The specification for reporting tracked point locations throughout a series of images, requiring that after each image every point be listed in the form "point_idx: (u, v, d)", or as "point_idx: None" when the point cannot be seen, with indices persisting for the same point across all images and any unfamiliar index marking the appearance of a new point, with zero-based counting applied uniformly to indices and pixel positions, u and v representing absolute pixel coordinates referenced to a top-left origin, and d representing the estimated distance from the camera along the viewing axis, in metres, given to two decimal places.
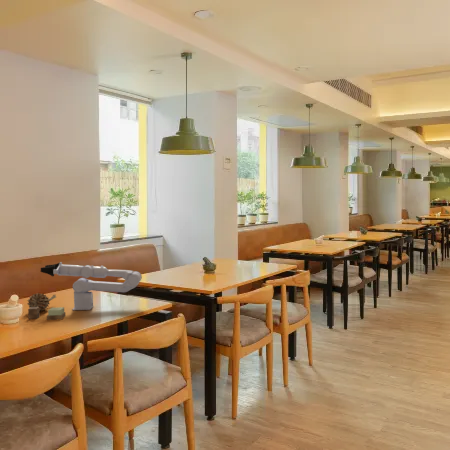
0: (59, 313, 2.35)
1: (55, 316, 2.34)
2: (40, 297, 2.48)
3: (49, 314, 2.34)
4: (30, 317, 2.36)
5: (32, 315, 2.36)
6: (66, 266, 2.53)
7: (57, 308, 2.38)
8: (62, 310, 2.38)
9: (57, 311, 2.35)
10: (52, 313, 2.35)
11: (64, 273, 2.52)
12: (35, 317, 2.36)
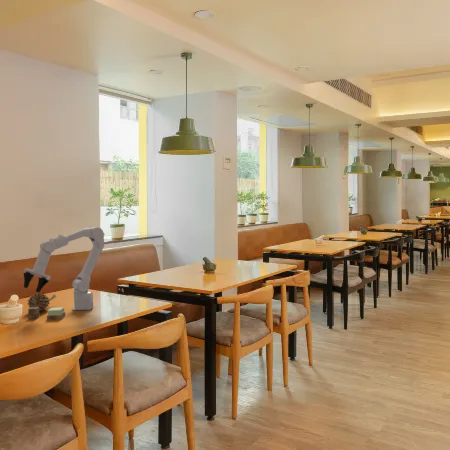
0: (59, 313, 2.34)
1: (55, 316, 2.34)
2: (40, 297, 2.48)
3: (49, 314, 2.34)
4: (30, 317, 2.36)
5: (32, 315, 2.36)
6: (40, 266, 2.40)
7: (57, 308, 2.38)
8: (62, 310, 2.37)
9: (57, 311, 2.34)
10: (52, 313, 2.34)
11: None
12: (35, 317, 2.36)
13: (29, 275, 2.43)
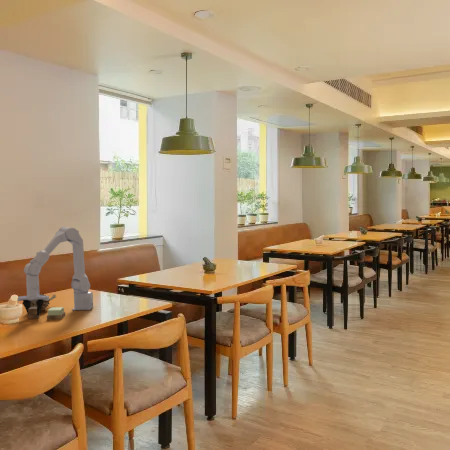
0: (59, 313, 2.35)
1: (55, 316, 2.35)
2: None
3: (49, 314, 2.34)
4: (30, 317, 2.36)
5: (32, 314, 2.36)
6: (35, 291, 2.35)
7: (57, 308, 2.38)
8: (62, 310, 2.38)
9: (57, 311, 2.35)
10: (52, 313, 2.35)
11: None
12: (35, 317, 2.36)
13: (28, 302, 2.37)
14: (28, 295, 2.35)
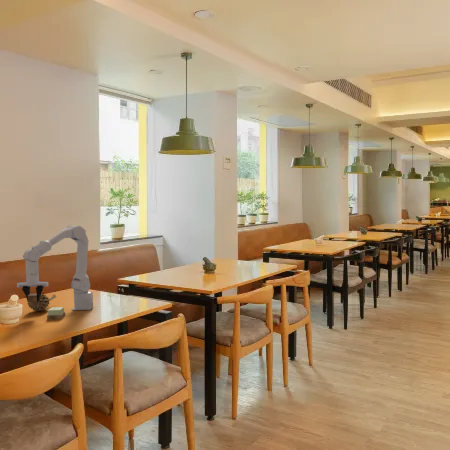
0: (59, 313, 2.35)
1: (55, 316, 2.35)
2: (40, 297, 2.48)
3: (49, 314, 2.34)
4: (30, 304, 2.36)
5: (32, 301, 2.36)
6: (34, 277, 2.35)
7: (57, 308, 2.38)
8: (62, 310, 2.38)
9: (57, 311, 2.35)
10: (52, 313, 2.35)
11: None
12: (35, 304, 2.36)
13: (28, 288, 2.37)
14: (27, 281, 2.35)
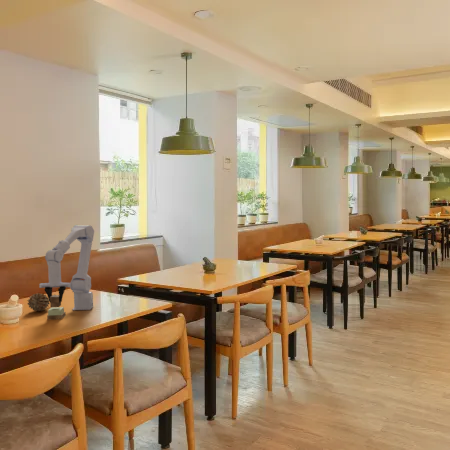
0: (59, 313, 2.35)
1: (55, 316, 2.35)
2: (40, 297, 2.48)
3: (49, 314, 2.35)
4: (52, 305, 2.35)
5: (54, 303, 2.35)
6: (57, 277, 2.34)
7: (57, 308, 2.38)
8: (62, 310, 2.38)
9: (57, 311, 2.35)
10: (52, 313, 2.35)
11: None
12: (57, 305, 2.35)
13: (50, 289, 2.36)
14: (50, 282, 2.34)
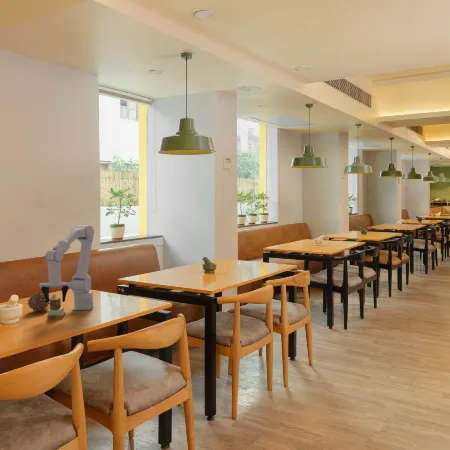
0: (59, 313, 2.35)
1: (55, 316, 2.35)
2: (40, 297, 2.48)
3: (49, 314, 2.35)
4: (51, 308, 2.35)
5: (54, 305, 2.35)
6: (57, 277, 2.34)
7: None
8: (62, 310, 2.38)
9: (57, 311, 2.35)
10: (52, 313, 2.35)
11: None
12: (56, 308, 2.35)
13: (47, 289, 2.36)
14: (50, 281, 2.34)
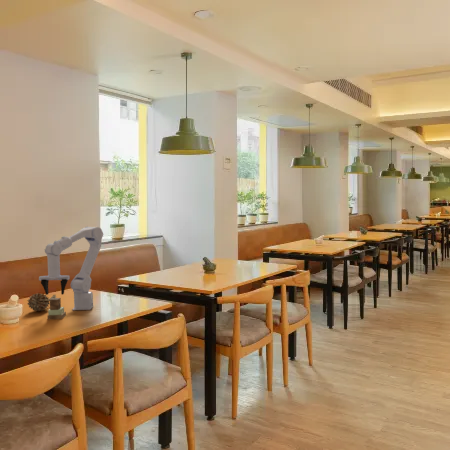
0: (59, 313, 2.36)
1: (56, 316, 2.35)
2: (40, 297, 2.48)
3: (49, 314, 2.35)
4: (51, 308, 2.36)
5: (54, 305, 2.36)
6: (56, 270, 2.40)
7: None
8: (62, 310, 2.39)
9: (57, 311, 2.36)
10: (52, 313, 2.35)
11: None
12: (56, 308, 2.36)
13: (46, 282, 2.42)
14: (49, 274, 2.40)
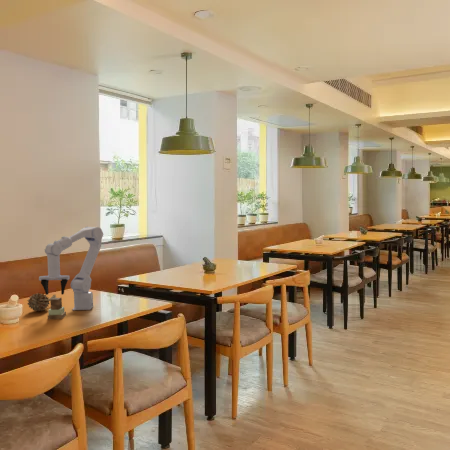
0: (59, 313, 2.36)
1: (56, 316, 2.35)
2: (40, 297, 2.48)
3: (49, 314, 2.36)
4: (52, 308, 2.36)
5: (54, 305, 2.36)
6: (56, 270, 2.40)
7: None
8: (62, 310, 2.39)
9: (57, 311, 2.36)
10: (52, 313, 2.36)
11: None
12: (57, 308, 2.36)
13: (46, 282, 2.42)
14: (49, 274, 2.40)
